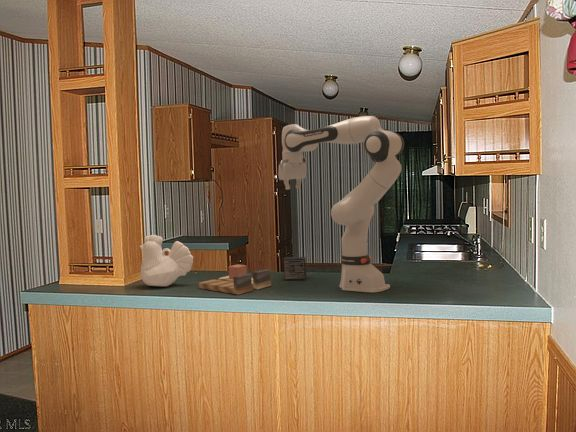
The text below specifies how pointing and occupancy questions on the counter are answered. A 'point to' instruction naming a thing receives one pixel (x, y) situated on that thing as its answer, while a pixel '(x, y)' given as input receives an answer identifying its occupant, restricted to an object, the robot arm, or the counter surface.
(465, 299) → the counter surface
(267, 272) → the birch strip
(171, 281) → the decorative rooster
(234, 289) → the oak strip
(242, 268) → the brick block
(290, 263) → the small box
